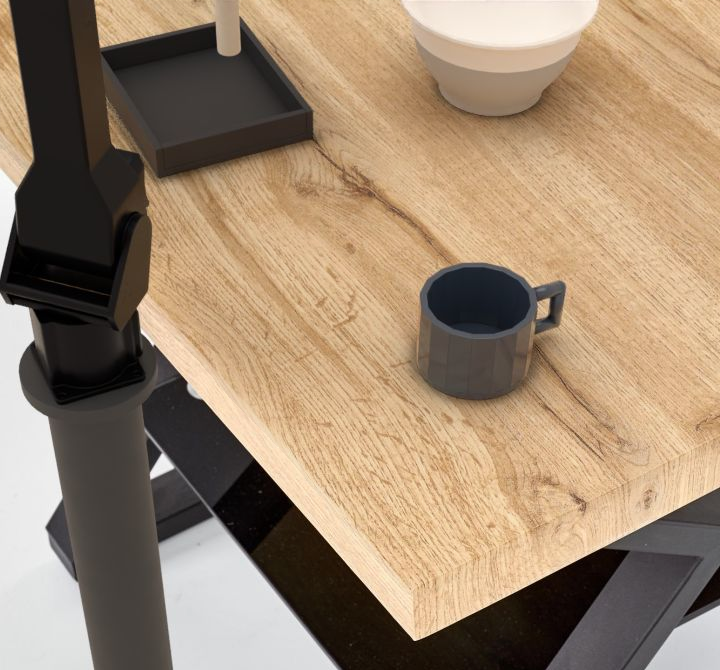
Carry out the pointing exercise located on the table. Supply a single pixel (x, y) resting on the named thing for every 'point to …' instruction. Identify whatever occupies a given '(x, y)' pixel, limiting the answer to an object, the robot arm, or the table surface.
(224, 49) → the marker
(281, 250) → the table surface
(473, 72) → the bowl
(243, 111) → the tray
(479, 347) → the mug
